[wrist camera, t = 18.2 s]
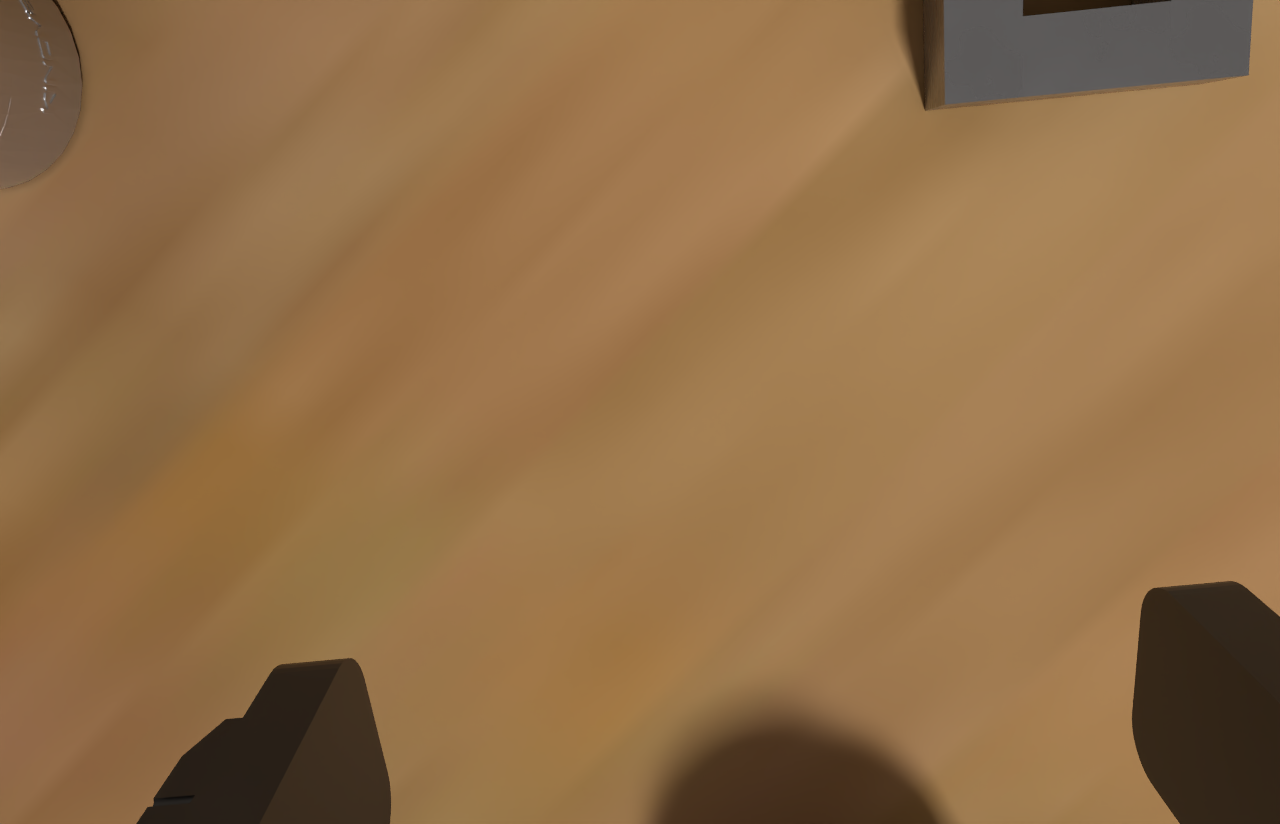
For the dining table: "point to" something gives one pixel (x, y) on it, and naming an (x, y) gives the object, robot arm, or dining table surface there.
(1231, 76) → the socket block
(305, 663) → the robot arm
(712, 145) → the dining table surface
